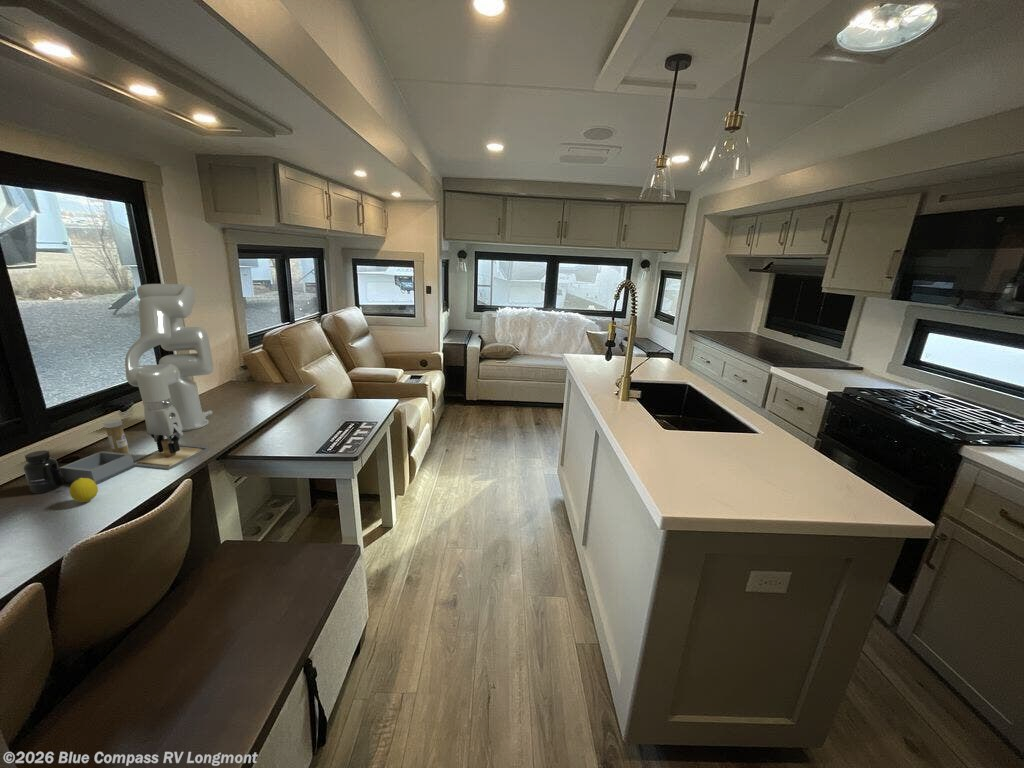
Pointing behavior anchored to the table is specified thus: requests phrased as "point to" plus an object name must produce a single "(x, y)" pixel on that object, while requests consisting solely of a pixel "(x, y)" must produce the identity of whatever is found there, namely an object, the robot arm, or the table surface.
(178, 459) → the lid
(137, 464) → the picture frame
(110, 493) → the table surface
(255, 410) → the table surface
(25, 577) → the table surface
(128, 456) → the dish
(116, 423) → the sprinkles bottle
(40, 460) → the supplement bottle
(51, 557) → the table surface
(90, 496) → the lemon
